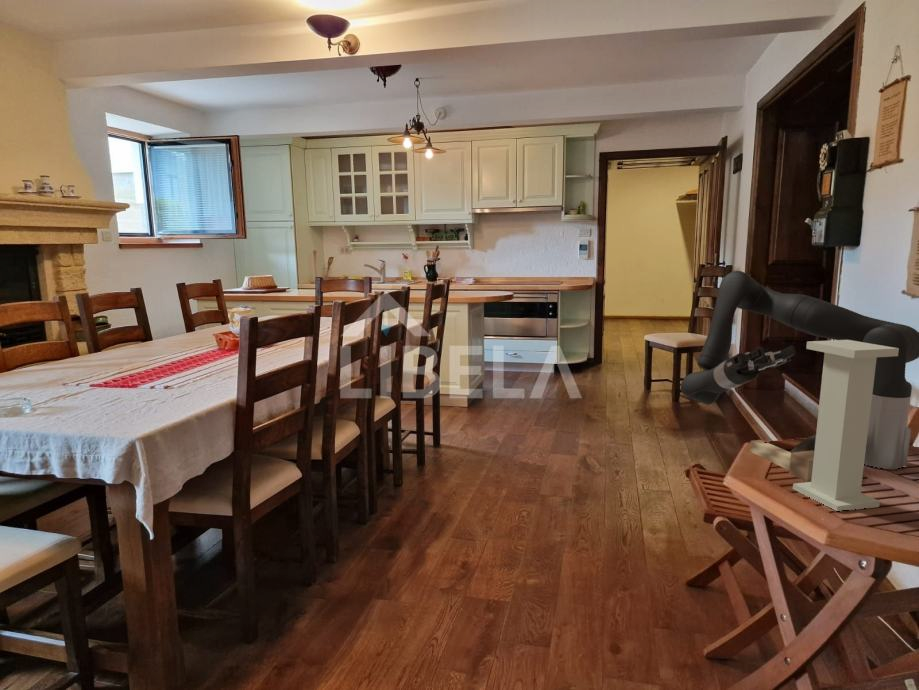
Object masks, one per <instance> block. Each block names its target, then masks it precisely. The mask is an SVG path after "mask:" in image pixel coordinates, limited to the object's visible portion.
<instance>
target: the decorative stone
mask: <svg viewBox="0 0 919 690" xmlns="http://www.w3.org/2000/svg"><path fill="white" fill-rule="evenodd" d="M815 441H816V434H815V435H811V436H808V437H806V438H805V439H803V440H802V441H800V442H799V443H798V444H796V445H795V446H793V448H792V449H791V450H790V451H789V452H791V453H794V452H803V451H815Z"/></svg>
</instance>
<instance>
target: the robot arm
mask: <svg viewBox="0 0 919 690" xmlns="http://www.w3.org/2000/svg"><path fill="white" fill-rule="evenodd" d="M737 309H740V310H744V311H748V312H752V313H755V314H760V315H763V316H766V317H769V318H771V319H773V320H774V321H777V322H779V323H780V324H783V325H785V326H787V327H790V328H793V329H794V330H797V331H800V332H803V333H804V334H807V335H811V336H815V337H819V338H825V339H828V340H852V341H858V342H864V343H870V344H876V345H882V346H888V347H894V348H899V352H898V356H892V357H877V359H876V367H875V376H874V384H873V392H872V401H871V409H870V418H869V426H868V435H867V443H866V452H865V460H864V464H865V465H864V466H867V465H869V466H868V467H870V466H873V467H872V468H875V467H877V468H876V469H880V468H883V469H882V470H899V469H898V468H900V467H903V466H906V467H907V465H908V457H909V450H910V449H909V448H910V443H911V442H910V441H911V433H912V429H911V428H910V427H909V426H908V421H909V413H910V405H911V399H912V398H911V397H912V393H913V392H912V391H913V390H912V389H913V386H912V384H911V383H910V382H909V381H907V379H906V366H907V365H906V364H907V363H910V362H913V361H915V360H917V359H919V331H918V330H917V329H915V327H911V326H909V325H905V324H902V323H897V322H896V323H895V322H891V321H887V320H883V319H878V318H875V317H874V318H873V317H871V316H866V315H863V314H860V313H858V312H856V311H852V310H851V309H848V308H845V307H842V306H840V305H836V304H834V303H832V302H828V301H825V300H822V299H819V298H816V297H813V296H810V295H805V294H801V293H800V294H799V293H782V292H779V291H775V290H773V289H771V288H769V287H766V286H764V285H762V284H760V282H758V281H756V280H755V279H754V278H753V277H751V275H749V274H748V273H746V272H744V271H741V270H735V271H731V272H729V273H727V274H726V275H725V276H724V277H723V278H722V280H721V282H720V284H719V288H718V291H717V297H716V301H715V305H714V309H713V314H712V318H711V323H710V327H709V331H708V333H707V336H706V339H705V341H704V343H703V346H702V349H701V351H700V354H699V357H698V359H697V363H696V364H697V366H698V367H699V368H701V369H702V370H701V371H695V372H691V373H689V374H687V375H686V376H685V377H684V378H683V379H682V381H681V383H680V391H681V393H682V394H683V395H684V397H687V398H690V399H692V400H694V401H697V402H700V403H702V404H704V405H708V406H710V405H712V404H714V403H715V402H717V400H718V399H719V397H720V394H721V393H725V392H727V391H730V390H731V389H735V388H737V387H740V386H742V385H745V384H747V383H749V382H751V381H753V380H756V379H757V377H758V376H759V375H760V371H763V370H766V368H767V369H768V368H771V369H775V368H777V367H779V366H781V365H784V364H786V363H789V362H791V361H792V359H791V357H793V356H795V355H796V354H797V353H796V352H797V351H796V349H795V346H794V345H789V346H787V347H785V348H783V349H781V350H778V351H774V352H773V351H768V352H765V350H764V348H763V346H762V347H758V348H755V349H754V350H752V351H746V352H740V353H737V354H735V355H733V356H731V357H730V358H728V356H729V353H730V351H731V347H732V341H733V339H732V338H733V325H734V319H735V313H736V311H737ZM768 356H769V358H768ZM727 358H728V359H727ZM900 469H901V468H900Z"/></svg>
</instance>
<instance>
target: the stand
mask: <svg viewBox="0 0 919 690" xmlns="http://www.w3.org/2000/svg"><path fill="white" fill-rule="evenodd" d="M805 347H806V350H811V351H816V352H821V353H824V355H823V366H822V374H821V382H820V383H821V385H820V394H819V401H818V402H819V404H818V413H817V422H816V423H817V424H816V433H815V435H816V441H815V451H814V460H813V470H812V480H811V482H806V481H804V482H795V483H793V484H792V490H794V491H796V492H797V493H800V494H801V495H803V494H804V495H803V496H805V497H807V498H809V497H810V499H811V500H813V499H814V500H813V501H815V500H816V501H815V502H817V501H818V502H817V503H819V502H820V503H819V504H821V503H822V504H821V505H823V504H824V505H823V506H824V507H826V506H828V507H830V508H832V509H834V510H836V511H840V512H843V511H842V510H849V511H856V510H865V509H864V508H866V509H874V508H879V507H880V502H881V501H880V500H879V499H876V498H873V497H872V496H869V495H867V494H866V493H863V492H862V483H863V476H864V474H863V473H864V469H865V468H864V467H865V465H864V460H865V452H866V443H867V435H868V426H869V418H870V409H871V401H872V392H873V384H874V376H875V367H876V359H877V357H892V356H898V352H899V348H894V347H888V346H882V345H876V344H870V343H864V342H858V341H852V340H834V339H830V340H813V341H806V346H805ZM828 507H827V508H828ZM830 508H829V509H830ZM832 509H831V510H832ZM855 509H856V510H855ZM834 510H833V511H834ZM836 511H835V512H836Z"/></svg>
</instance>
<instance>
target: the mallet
mask: <svg viewBox="0 0 919 690" xmlns="http://www.w3.org/2000/svg"><path fill="white" fill-rule="evenodd" d="M764 442H766V441H765V440H762V439H757V440H750V447H749V452H750V453H751V452H752V453H751V454H753V453H754V454H753V455H755V454H756V455H755V456H757V455H758V457H760V456H761V457H760V458H762V457H764V458H766V459H768V460H770V461H771V462H770V461H769V462H770V463H772V464H775V465H777V466H779V467H781V468H783V469H785V470H787V471H788V474H790V475H791V476H793V477H796V478H798V479H800V480H802V481H804V482H811V480H812V470H813V460H814V451H803V452H794V453H791V452H790V451H788V450H786V449H784V448H781V447H779V446H776V445H774V444H772V443H769V442H767V443H764ZM764 458H763V459H764ZM766 459H765V460H766ZM768 460H767V461H768Z"/></svg>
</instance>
